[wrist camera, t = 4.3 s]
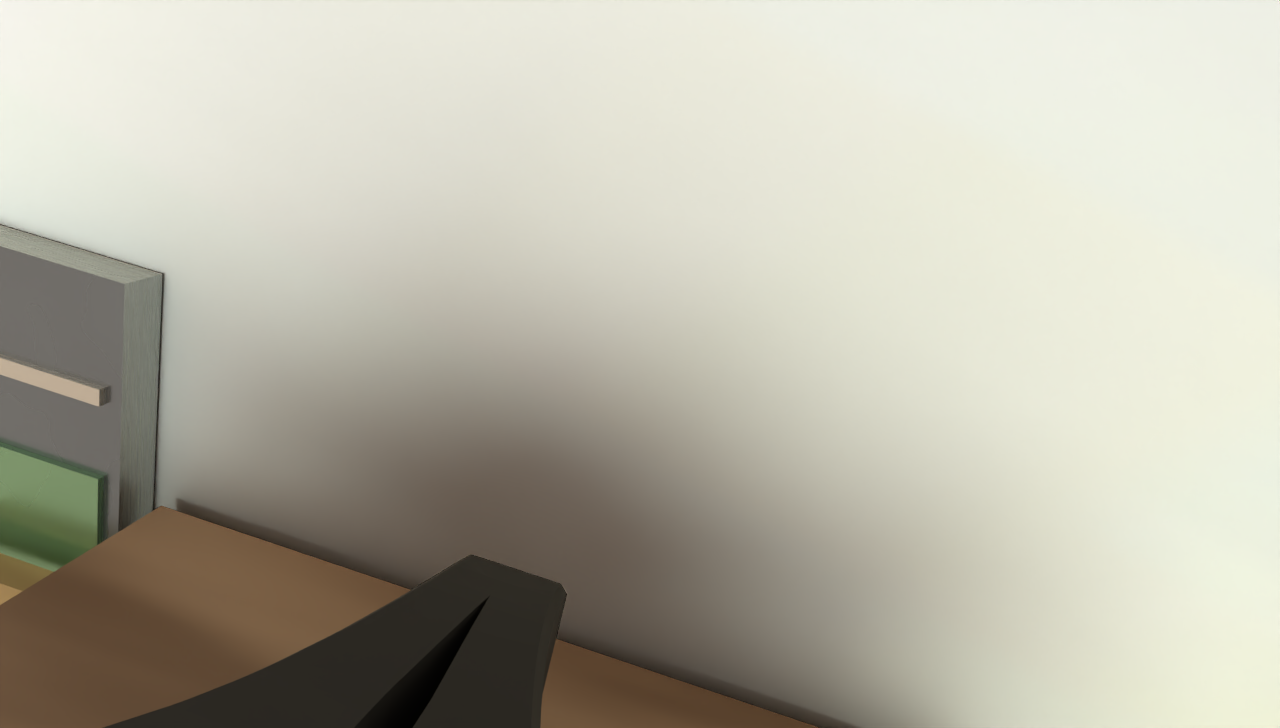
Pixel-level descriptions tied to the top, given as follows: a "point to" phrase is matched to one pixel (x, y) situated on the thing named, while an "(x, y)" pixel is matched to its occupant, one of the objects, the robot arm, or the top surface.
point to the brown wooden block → (250, 634)
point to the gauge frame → (74, 397)
